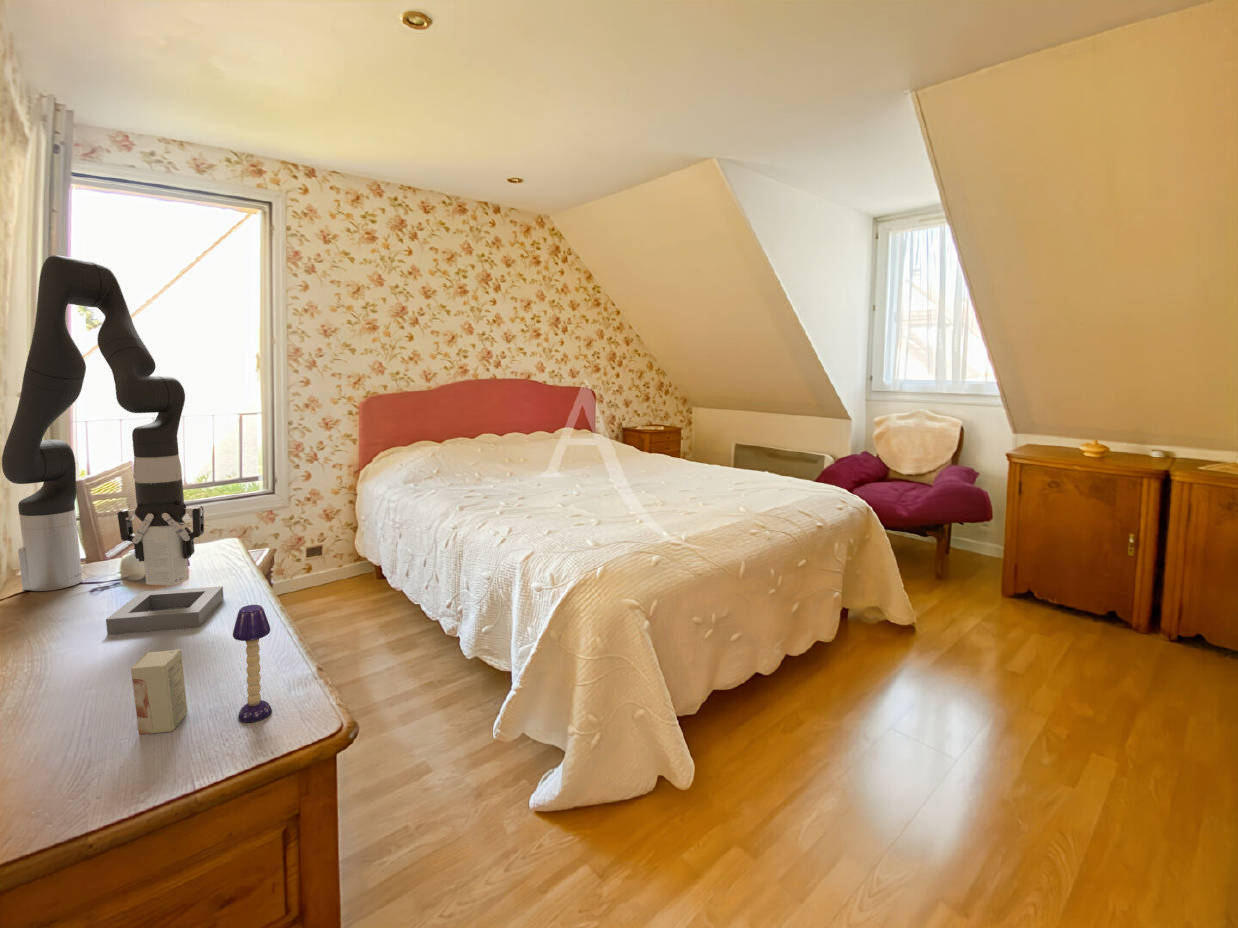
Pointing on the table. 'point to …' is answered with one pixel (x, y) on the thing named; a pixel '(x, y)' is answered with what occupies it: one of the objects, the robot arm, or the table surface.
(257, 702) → the toy lamp
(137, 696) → the skincare box
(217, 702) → the table surface
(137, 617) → the socket block
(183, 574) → the skincare box
